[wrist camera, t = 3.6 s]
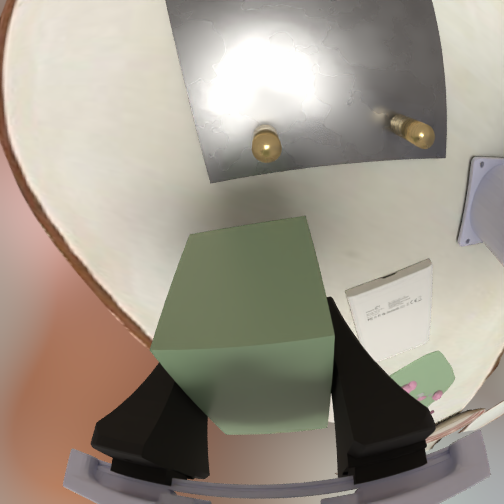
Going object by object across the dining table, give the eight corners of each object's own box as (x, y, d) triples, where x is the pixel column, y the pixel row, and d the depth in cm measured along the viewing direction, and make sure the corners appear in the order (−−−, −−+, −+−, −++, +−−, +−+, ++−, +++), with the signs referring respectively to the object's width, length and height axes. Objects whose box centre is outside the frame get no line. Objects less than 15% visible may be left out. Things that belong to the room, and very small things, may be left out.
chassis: (409, -51, 6) (435, -65, 3) (441, 155, 15) (470, 174, 12) (159, -41, 8) (137, -60, 5) (211, 180, 17) (201, 204, 14)
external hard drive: (363, 355, 29) (343, 286, 23) (425, 331, 27) (426, 254, 21) (365, 366, 28) (347, 299, 22) (429, 341, 26) (434, 265, 19)
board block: (305, 215, 11) (334, 335, 6) (315, 334, 16) (327, 427, 11) (189, 234, 12) (149, 349, 7) (233, 343, 17) (226, 434, 12)
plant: (334, 385, 34) (342, 444, 26) (468, 329, 28) (493, 382, 20) (363, 424, 46) (368, 461, 39) (452, 389, 40) (463, 425, 33)
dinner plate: (472, 416, 61) (474, 423, 59) (407, 444, 69) (409, 452, 66) (493, 390, 47) (496, 399, 44) (413, 429, 54) (415, 439, 52)
